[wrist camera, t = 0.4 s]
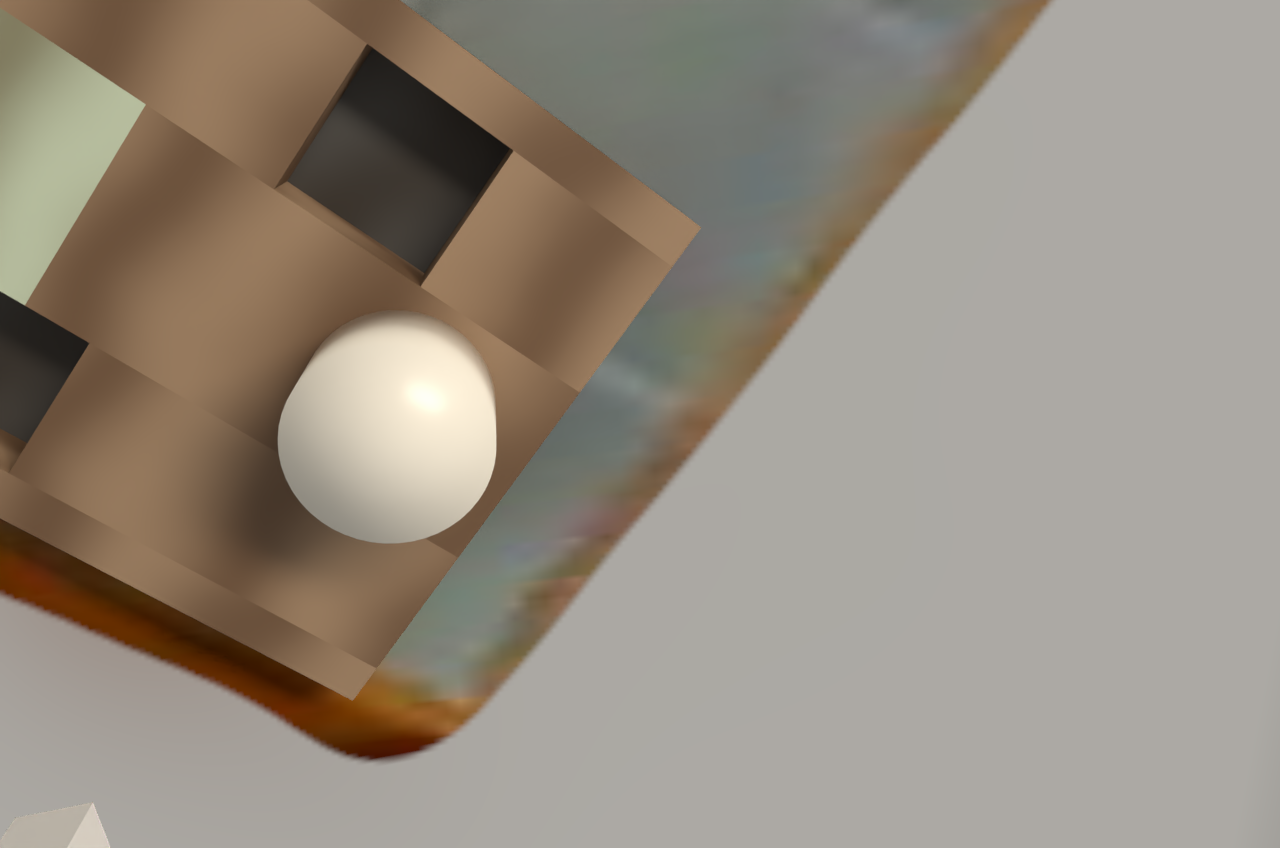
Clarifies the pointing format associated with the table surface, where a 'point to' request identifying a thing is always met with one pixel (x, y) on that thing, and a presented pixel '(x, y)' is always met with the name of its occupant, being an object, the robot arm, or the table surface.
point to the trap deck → (277, 287)
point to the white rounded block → (390, 428)
